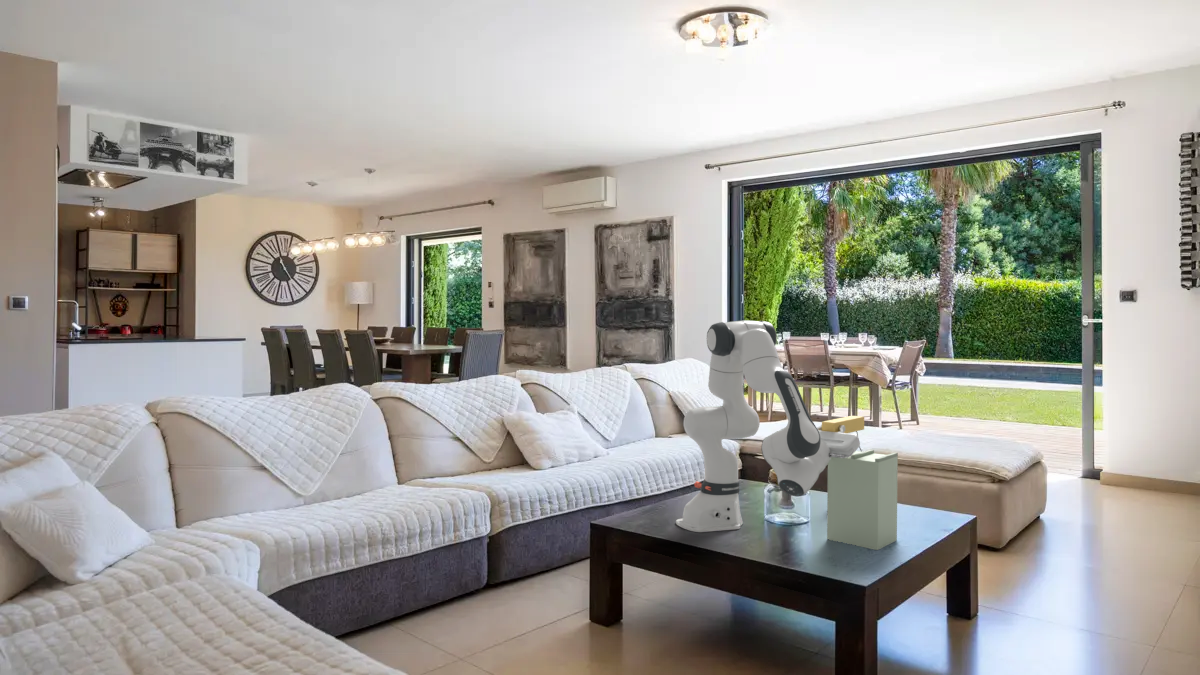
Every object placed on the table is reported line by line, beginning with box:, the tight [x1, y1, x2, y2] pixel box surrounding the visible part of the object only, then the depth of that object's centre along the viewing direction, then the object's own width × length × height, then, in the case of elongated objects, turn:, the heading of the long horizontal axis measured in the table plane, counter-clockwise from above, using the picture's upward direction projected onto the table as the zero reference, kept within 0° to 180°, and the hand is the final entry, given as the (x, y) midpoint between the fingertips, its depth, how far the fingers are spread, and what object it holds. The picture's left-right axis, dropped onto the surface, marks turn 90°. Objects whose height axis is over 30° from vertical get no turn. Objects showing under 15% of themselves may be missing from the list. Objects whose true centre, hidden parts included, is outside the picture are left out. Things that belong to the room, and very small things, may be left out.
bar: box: [821, 415, 865, 434], centre depth 236 cm, size 20×4×4 cm, turn 136°
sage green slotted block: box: [826, 449, 899, 551], centre depth 239 cm, size 14×16×27 cm
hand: (834, 426), depth 232 cm, fingers closed on bar, 4 cm apart
